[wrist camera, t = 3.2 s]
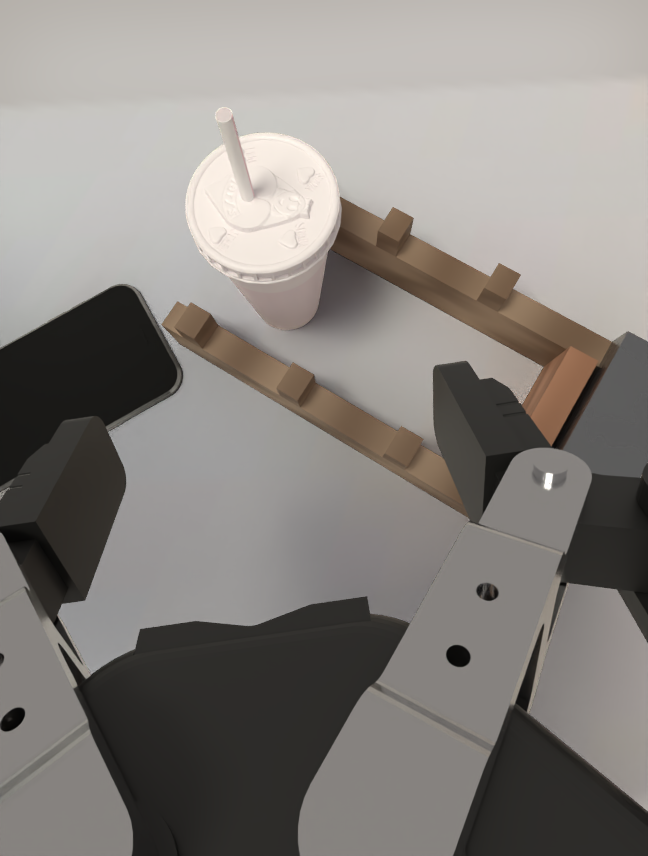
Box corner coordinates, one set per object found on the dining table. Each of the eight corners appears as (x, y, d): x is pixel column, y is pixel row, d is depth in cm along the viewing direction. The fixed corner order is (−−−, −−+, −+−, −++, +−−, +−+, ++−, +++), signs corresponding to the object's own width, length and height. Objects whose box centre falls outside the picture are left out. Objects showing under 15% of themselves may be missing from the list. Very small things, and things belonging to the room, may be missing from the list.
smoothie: (247, 241, 31) (170, 19, 17) (352, 259, 31) (358, 47, 17) (221, 341, 30) (118, 190, 16) (329, 362, 30) (317, 224, 16)
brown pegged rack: (179, 343, 30) (150, 313, 26) (280, 195, 32) (270, 142, 27) (519, 548, 27) (552, 553, 23) (613, 375, 29) (662, 349, 24)
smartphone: (-101, 401, 30) (128, 274, 31) (-90, 403, 31) (134, 280, 31) (-50, 518, 29) (188, 383, 29) (-41, 518, 29) (192, 386, 30)
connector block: (489, 530, 28) (517, 532, 23) (584, 360, 29) (627, 331, 25) (549, 566, 27) (588, 575, 23) (642, 391, 29) (697, 367, 24)
